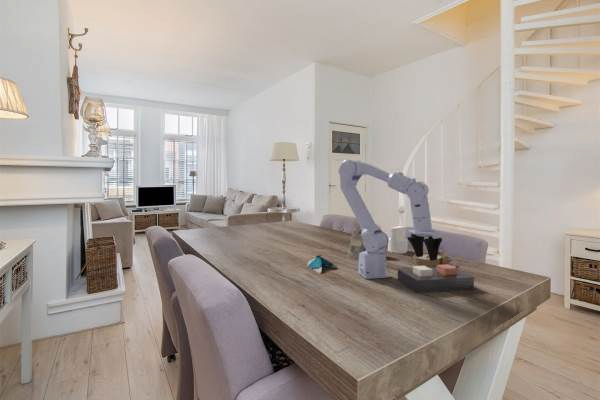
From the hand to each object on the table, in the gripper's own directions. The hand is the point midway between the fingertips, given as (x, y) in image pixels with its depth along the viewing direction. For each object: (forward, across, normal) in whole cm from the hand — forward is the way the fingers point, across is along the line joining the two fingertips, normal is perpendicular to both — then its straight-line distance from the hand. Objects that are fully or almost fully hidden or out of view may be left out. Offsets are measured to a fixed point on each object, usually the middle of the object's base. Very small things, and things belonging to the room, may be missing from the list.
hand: (426, 258), depth 100 cm
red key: (+7, 0, -7) cm, 10 cm away
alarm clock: (+9, +24, -17) cm, 30 cm away
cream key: (+6, 0, +2) cm, 6 cm away
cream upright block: (+6, +46, -14) cm, 49 cm away
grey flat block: (+9, +1, -2) cm, 10 cm away
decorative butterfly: (+4, +26, +30) cm, 40 cm away
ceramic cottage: (+4, +40, +5) cm, 41 cm away
